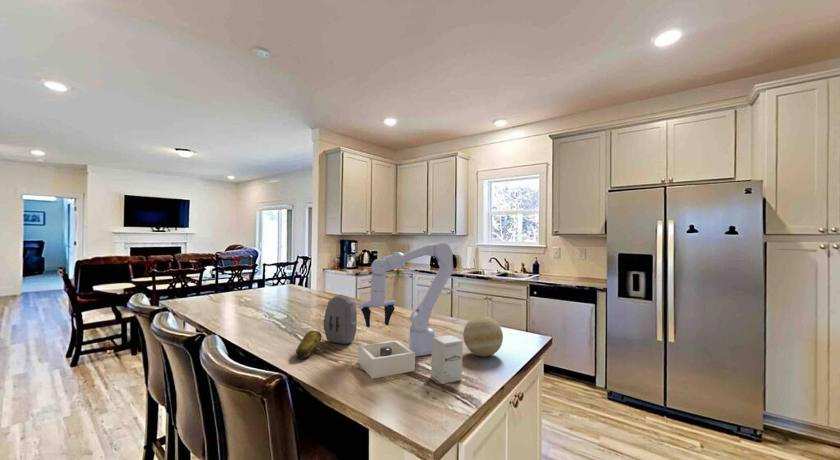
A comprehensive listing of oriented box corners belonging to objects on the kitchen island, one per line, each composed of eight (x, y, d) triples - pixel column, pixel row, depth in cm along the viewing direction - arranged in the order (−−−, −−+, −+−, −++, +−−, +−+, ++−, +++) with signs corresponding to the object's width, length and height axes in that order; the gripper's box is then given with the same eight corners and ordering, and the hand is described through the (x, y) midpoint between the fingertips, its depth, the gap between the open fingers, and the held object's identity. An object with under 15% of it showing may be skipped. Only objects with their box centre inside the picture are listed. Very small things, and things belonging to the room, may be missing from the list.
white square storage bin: (396, 356, 127) (397, 340, 127) (414, 370, 114) (415, 352, 114) (357, 362, 120) (358, 345, 120) (372, 378, 107) (372, 359, 107)
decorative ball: (483, 365, 120) (484, 323, 120) (454, 353, 132) (455, 314, 132) (510, 357, 129) (511, 317, 129) (481, 346, 141) (482, 310, 141)
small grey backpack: (359, 342, 142) (360, 295, 143) (347, 348, 135) (349, 298, 135) (330, 337, 148) (332, 291, 149) (317, 343, 141) (319, 294, 141)
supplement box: (442, 385, 103) (443, 343, 104) (430, 375, 110) (431, 336, 110) (462, 380, 107) (463, 340, 107) (449, 372, 113) (450, 334, 114)
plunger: (394, 355, 125) (394, 342, 125) (407, 366, 115) (407, 351, 115) (364, 360, 119) (365, 346, 119) (375, 372, 109) (376, 356, 110)
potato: (286, 357, 123) (286, 335, 123) (311, 347, 135) (312, 327, 135) (303, 362, 119) (304, 339, 120) (328, 351, 131) (328, 330, 131)
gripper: (391, 287, 138) (390, 321, 137) (356, 289, 131) (355, 325, 131) (398, 290, 131) (397, 325, 131) (362, 292, 125) (361, 329, 124)
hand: (377, 325), depth 130 cm, fingers open, 7 cm apart
